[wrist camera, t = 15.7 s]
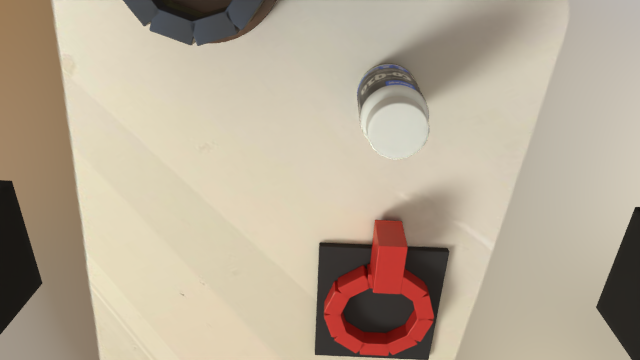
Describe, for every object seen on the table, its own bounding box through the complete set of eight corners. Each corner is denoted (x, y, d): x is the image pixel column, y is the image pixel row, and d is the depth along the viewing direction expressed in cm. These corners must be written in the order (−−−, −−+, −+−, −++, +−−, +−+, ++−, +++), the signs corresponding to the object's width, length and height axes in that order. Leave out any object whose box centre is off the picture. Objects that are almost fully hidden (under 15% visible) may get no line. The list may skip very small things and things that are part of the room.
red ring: (423, 346, 50) (430, 377, 47) (322, 340, 50) (321, 372, 47) (447, 223, 43) (457, 249, 40) (329, 217, 43) (328, 243, 40)
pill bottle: (407, 53, 37) (425, 85, 29) (423, 109, 39) (444, 152, 31) (348, 74, 38) (351, 110, 30) (366, 127, 40) (374, 174, 32)
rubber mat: (447, 248, 45) (449, 252, 45) (427, 355, 52) (428, 360, 51) (319, 242, 45) (319, 246, 45) (315, 350, 52) (314, 355, 51)
